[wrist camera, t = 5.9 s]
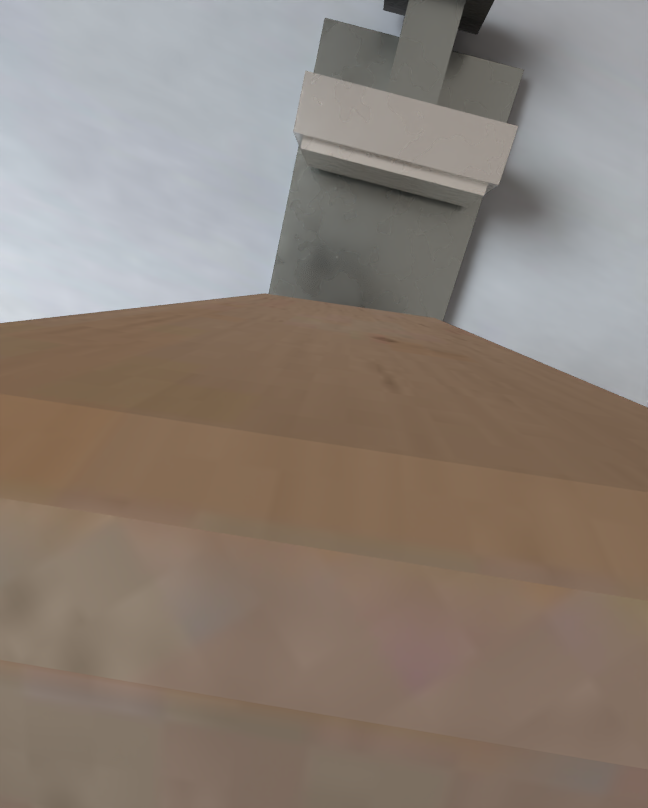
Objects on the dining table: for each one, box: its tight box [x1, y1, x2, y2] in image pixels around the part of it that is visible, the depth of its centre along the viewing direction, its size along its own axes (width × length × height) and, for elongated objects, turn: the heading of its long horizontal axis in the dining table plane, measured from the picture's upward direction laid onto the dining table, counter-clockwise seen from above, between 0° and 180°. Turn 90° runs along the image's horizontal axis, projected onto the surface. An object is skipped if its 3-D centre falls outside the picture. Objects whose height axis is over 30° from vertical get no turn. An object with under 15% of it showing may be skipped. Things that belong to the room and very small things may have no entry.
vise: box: [269, 18, 524, 321], centre depth 30 cm, size 31×13×6 cm, turn 166°
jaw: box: [293, 0, 518, 207], centre depth 25 cm, size 11×12×5 cm
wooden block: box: [0, 294, 648, 808], centre depth 13 cm, size 10×10×20 cm
